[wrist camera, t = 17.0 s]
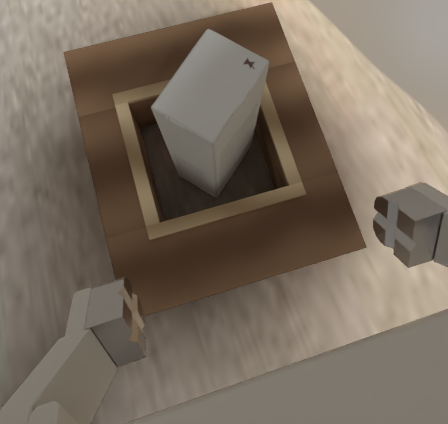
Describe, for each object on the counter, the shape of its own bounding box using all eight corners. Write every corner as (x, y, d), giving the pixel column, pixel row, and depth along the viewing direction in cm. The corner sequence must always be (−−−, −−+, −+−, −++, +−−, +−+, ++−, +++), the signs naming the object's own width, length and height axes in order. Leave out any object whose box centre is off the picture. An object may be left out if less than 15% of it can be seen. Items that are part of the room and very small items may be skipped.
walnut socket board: (345, 252, 28) (368, 246, 24) (138, 316, 27) (124, 322, 23) (265, 36, 32) (272, -1, 28) (83, 81, 31) (61, 49, 27)
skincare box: (212, 123, 30) (208, 23, 19) (251, 146, 30) (273, 59, 18) (175, 176, 29) (147, 106, 18) (216, 201, 29) (215, 146, 17)
